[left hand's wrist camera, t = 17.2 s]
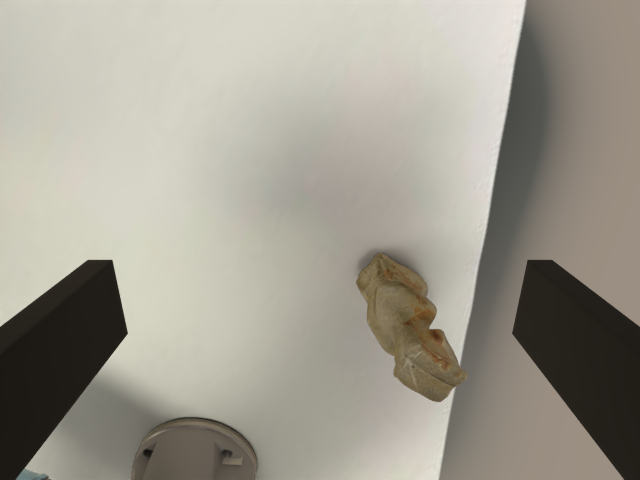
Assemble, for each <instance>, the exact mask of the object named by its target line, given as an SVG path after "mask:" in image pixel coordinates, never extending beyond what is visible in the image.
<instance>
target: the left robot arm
mask: <svg viewBox="0 0 640 480" xmlns="http://www.w3.org/2000/svg"><path fill="white" fill-rule="evenodd" d="M127 334H128V332H127V327H126V323H125V318H124V313H123V308H122V304H121V299H120V294H119V289H118V285H117V280H116V275H115V270H114V266H113V261H112V260H87V261H86V262H85V263H83V264H82V265H81V266H79V267H78V268H77V269H76V270H74V271H73V272H72V273H70V274H69V275H68V276H66V277H65V278H64V279H62V280H61V281H60V282H58V283H57V284H56V285H55V286H53V287H52V288H51V289H49V290H48V291H47V292H45V293H44V294H43V295H41V296H40V297H39V298H37V299H36V300H35V301H34V302H32V303H31V304H30V305H28V306H27V307H26V308H24V309H23V310H22V311H20V312H19V313H18V314H17V315H15V316H14V317H13V318H11V319H10V320H9V321H7V322H6V323H5V324H3V325H2V326H1V327H0V480H50V479H48V478H49V477H48V476H47V475H45V474H41V475H39V474H37V473H34V472H32V471H29V470H27V469H24V468H25V467H26V466H27V464H28V463H29V462H30V460H31V459H32V458H33V456H34V455H35V454H36V453H37V451H38V450H39V449H40V447H41V446H42V445H43V443H44V442H45V441H46V440H47V438H48V437H49V436H50V434H51V433H52V432H53V430H54V429H55V428H56V426H57V425H58V424H59V423H60V421H61V420H62V419H63V417H64V416H65V415H66V413H67V412H68V411H69V410H70V408H71V407H72V406H73V404H74V403H75V402H76V400H77V399H78V398H79V397H80V395H81V394H82V393H83V391H84V390H85V389H86V387H87V386H88V385H89V383H90V382H91V381H92V380H93V378H94V377H95V376H96V374H97V373H98V372H99V370H100V369H101V368H102V367H103V365H104V364H105V363H106V361H107V360H108V359H109V357H110V356H111V355H112V354H113V352H114V351H115V350H116V348H117V347H118V346H119V344H120V343H121V342H122V340H123V339H124V338H125V337H126V335H127ZM512 334H513V335H514V336H515V338H516V339H517V340H518V342H519V343H520V344H521V346H522V347H523V348H524V350H525V351H526V352H527V353H528V355H529V356H530V357H531V359H532V360H533V361H534V363H535V364H536V365H537V366H538V368H539V369H540V370H541V372H542V373H543V374H544V376H545V377H546V378H547V379H548V381H549V382H550V383H551V385H552V386H553V387H554V389H555V390H556V391H557V393H558V394H559V395H560V396H561V398H562V399H563V400H564V402H565V403H566V404H567V406H568V407H569V408H570V410H571V411H572V412H573V413H574V415H575V416H576V417H577V419H578V420H579V421H580V423H581V424H582V425H583V426H584V428H585V429H586V430H587V432H588V433H589V434H590V436H591V437H592V438H593V440H594V441H595V442H596V443H597V445H598V446H599V447H600V449H601V450H602V451H603V452H604V454H605V455H606V456H607V458H608V459H609V460H610V462H611V463H612V464H613V466H614V467H615V468H616V470H617V471H618V472H619V473H620V475H621V476H622V477H623V479H624V480H640V327H639V326H638V325H637V324H635V323H634V322H633V321H631V320H630V319H629V318H627V317H626V316H625V315H623V314H622V313H621V312H620V311H618V310H617V309H616V308H614V307H613V306H612V305H610V304H609V303H608V302H606V301H605V300H604V299H602V298H601V297H600V296H599V295H597V294H596V293H595V292H593V291H592V290H591V289H589V288H588V287H587V286H585V285H584V284H583V283H582V282H580V281H579V280H578V279H576V278H575V277H574V276H572V275H571V274H570V273H568V272H567V271H566V270H564V269H563V268H562V267H561V266H559V265H558V264H557V263H555V262H554V261H553V260H528V261H527V266H526V270H525V275H524V280H523V285H522V289H521V294H520V299H519V304H518V308H517V313H516V318H515V323H514V327H513V332H512ZM256 471H257V461H256V457H255V454H254V451H253V449H252V448H251V446H250V445H249V443H248V442H247V441H246V440H245V439H244V438H243V437H242V436H241V435H240V434H238V433H237V432H235V431H234V430H232V429H230V428H229V427H227V426H224V425H222V424H219V423H217V422H213V421H209V420H204V419H192V418H190V419H178V420H173V421H170V422H167V423H164V424H162V425H160V426H158V427H156V428H155V429H153V430H152V431H151V432H150V433H149V434H148V435H147V436H146V437H145V438H144V440H143V441H142V443H141V445H140V447H139V449H138V451H137V453H136V456H135V460H134V463H133V467H132V475H131V480H255V477H256Z"/></svg>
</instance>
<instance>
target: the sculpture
mask: <svg viewBox="0 0 640 480" xmlns="http://www.w3.org/2000/svg"><path fill="white" fill-rule="evenodd" d="M356 283H357V286H358V288H359V290H360V292H361V294H362V295H363V297H364V298H365V300H366V301H367V303H368V309H367V322H368V324H369V326H370V328H371V330H372V332H373V333H374V335H375V337H376V338H377V340H378V342H379V343H380V345H381V346H382V348H383V349H384V350H385V351H386V352H387V353H389V354H391V355H393V356H395V363H396V365H395V368H394V372H393V374H394V376H395V377H397V378H398V379H399V380H400V382H402V383H403V384H404V385H405V386H407V387H408V388H410V389H412V390H413V391H415V392H417V393H419V394H421V395H423V396H425V397H426V398H428V399H430V400H432V401H436V402H441V401H442V400H444V399H445V398H446V397H447V396H448V395H449V393H450V391H451V390H452V389H453V388H454V387H455V386H457V385H459V384H460V383H462V382H463V381H464V380H465V379H466V378H467V377H468V373H467V372H466V371H464V370H463V369H462V368H461V367H460V366H459V364H458V361H457V358H456V356H455V354H454V352H453V350H452V348H451V346H450V345H449V343H448V341H447V339H446V337H445V334H444V332H443V331H442V330H440V329H429V327H430V325H431V323H432V322H433V320H434V318H435V316H436V312H437V311H436V307H435V305H434V304H433V303H432V302H431V301H430V300H429V299H427V298H426V295H427V291H428V288H427V284H426V282H425V281H424V280H423V279H422V278H421V277H420V276H419V275H418V274H416V273H415V272H413V271H412V270H410V269H408V268H406V267H404V266H402V265H400V264H398V263H396V262H394V261H393V260H391V259H390V258H388V257H387V256H386V255H384V254H382V253H379V254H377V255H376V256H375V257H374V258H373V259H372V260H371V263H370V264H369V266H368V267H367V268H364V269H363V270H362V272H361V273H360V274H359V276H358V279H357V281H356Z"/></svg>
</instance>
